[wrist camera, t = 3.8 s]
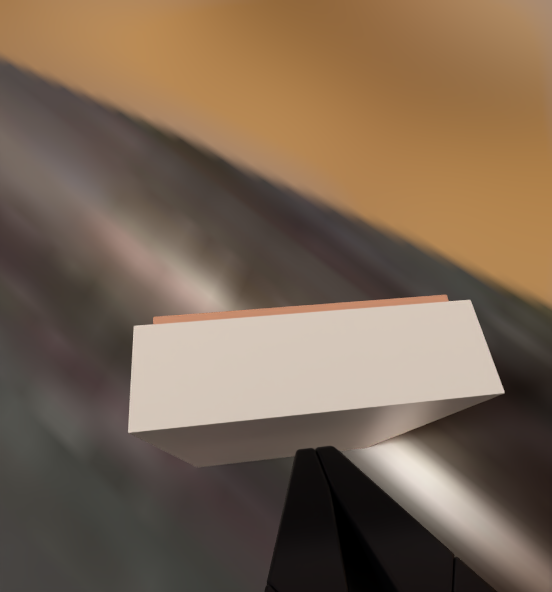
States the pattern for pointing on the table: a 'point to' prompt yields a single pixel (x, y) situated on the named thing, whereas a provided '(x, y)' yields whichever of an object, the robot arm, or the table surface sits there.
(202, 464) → the tile
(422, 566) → the robot arm
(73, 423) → the table surface
